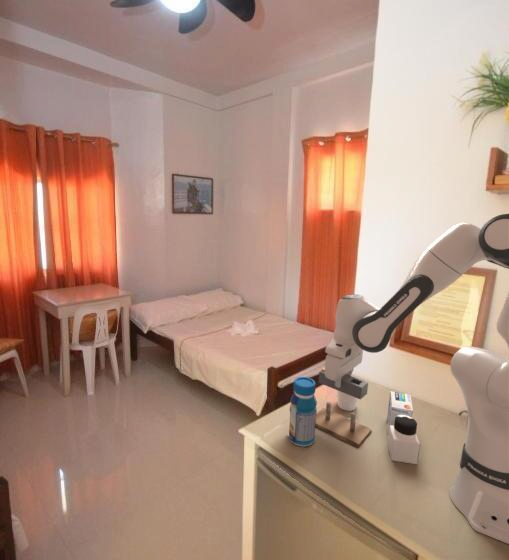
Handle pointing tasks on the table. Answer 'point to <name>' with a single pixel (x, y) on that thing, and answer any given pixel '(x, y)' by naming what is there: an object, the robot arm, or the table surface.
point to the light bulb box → (398, 407)
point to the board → (342, 426)
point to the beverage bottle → (303, 412)
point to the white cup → (346, 401)
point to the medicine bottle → (403, 440)
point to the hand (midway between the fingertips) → (342, 383)
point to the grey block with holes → (346, 385)
